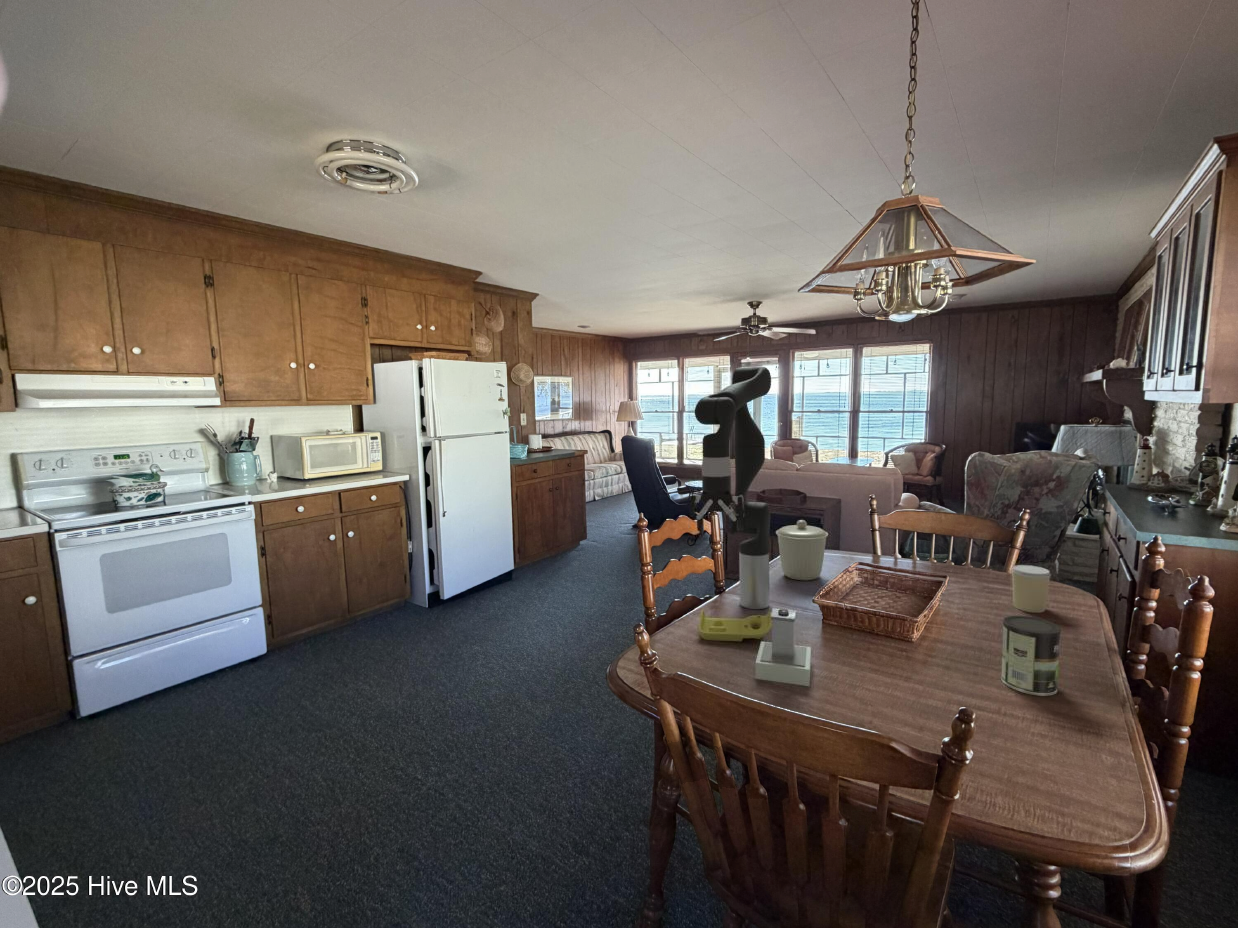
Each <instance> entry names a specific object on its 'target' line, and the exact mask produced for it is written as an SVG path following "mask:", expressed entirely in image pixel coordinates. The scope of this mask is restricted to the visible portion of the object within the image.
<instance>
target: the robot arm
mask: <svg viewBox="0 0 1238 928" xmlns="http://www.w3.org/2000/svg"><path fill="white" fill-rule="evenodd" d="M731 379H732V380H731V384H730V385H727V386H725V387H724V388H723V389H722V390H720V391H719V392H717V393H713V394H709V395H707V396H704V397H702V398H701V399H699V400H698V402H696V404H695V407H694V408H695V409H694V416H695V419H696V420H697V421H698V423H699V424H701V425H703V426H705V425H706V426H709V425H710V426H712V425H713V426H714V425H719V428H718V430H717V431H716V432H713V433H708V434H706V435H704V436H703V437H702V460H701V461H702V462H701V480H702V481H701V485H702V493H701V495H700V494H696V493H693V494H691V496H690V498H689V499H690V500H689V501H690V503H689V516H690V517H691V518H694V519H695V520H696V530H697V532H699V534H704V532H705V531H704V529H705V528H704V522H705V521H704V518H703V517H704V515H705V514H706V513H707V512H708V511H709V512H710V513H711V512H712V513H713V512H719V513H722V512H725V513H726V515H727V516H728V517H729V518H730V519H731V522H730V526H731V532H730V533H731V536H735V534H737V533H738V531H744V532H745V531H746V532H757V535H756V536H755V537H753V538H748V539H746V540H742V541H741V542H740V543H739V546H738V547H739V549H738V551H739V553H738V554H739V555H738V556H739V558H738V559H739V605H740V606H741V607H743V608H745V609H749V610H750V609H751V610H762V609H763V610H764V609H767V608H768V607H770V528H771V527H770V526H771V508H770V506H769V503H767V502H759V501H758V502H757V501H747V495H748V491H749V488H750V486H751V484H752V483H753V481H754V479H755V478H756V477H757V475H758V473H759V472H760V471H761V468H762V467H763V466H764V464H765V460H766V444H765V442H766V441H765V437H764V435H763V432H762V431H761V430H760V428H759V426H758V425H757V424H756V422H755V420H754V419H753V417H752V415H751V413H750V410H749V407H748V403H749V402H752V401H754V400H756V399H758V398H762V397H765V396H766V395H768V393H769V392H770V390H771V387H772V375H771V372H770V370H769V368H767V367H765V366H760V365H758V366H757V365H756V366H744V367H737V368H735V369H734V371H733V373H732V378H731ZM733 426H734V466H735V467H734V472H735V473H734V474H735V478H734V479H735V488H734V495H732V469H731V468H732V467H731V466H732V464H731V459H730V457H731V456H730V441H731V436H732V430H733ZM699 501H701V502H702V503H703V505H704V506H703V507H702V509H700V511H699V512H697V504H698V503H699ZM733 501H734V504H733V505H734V507H733V508H732V506H731V505H730V504H731V503H732V502H733Z"/></svg>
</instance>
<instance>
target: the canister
mask: <svg viewBox="0 0 1238 928" xmlns="http://www.w3.org/2000/svg"><path fill="white" fill-rule="evenodd" d="M775 534H776V535H777V540H778V547H779V548H778V549H779V558H780V564H781V571H782V572H783V574H784V576H785V577H787V578H790V579H792V580H796V581H813V580H816V579H818V578H819V577H820V576H821V573H822V571H823V566H824V565H823V563H824V558H825V550H826V541H827V537H828V536H829V533H828V532H827V531H825V530H824V529H822V528H821V527H817V526H813V525H808V522H806V520H804V519H799V520H797V522H796V524H794V525H786V526H782V527H781V528H779V529H777V530H776V531H775Z"/></svg>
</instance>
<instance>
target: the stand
mask: <svg viewBox="0 0 1238 928" xmlns="http://www.w3.org/2000/svg"><path fill="white" fill-rule="evenodd" d="M811 664H812V647H811V646H804V645H796V644H795V654H794V659H787V658H779V657H772V641H771V642H770V641H762V640H761V641H760V645H759V648H758V652H757V656H756V660H755V679H756V680H762V681H769V682H777V683H782V684H790V685H797V686H804V687H805V686H806V687H810V685H811V684H810V681H811Z"/></svg>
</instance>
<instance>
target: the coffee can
mask: <svg viewBox="0 0 1238 928" xmlns="http://www.w3.org/2000/svg"><path fill="white" fill-rule="evenodd" d="M1002 624H1003V631H1002V658H1001V677H1000V680H1001V682H1002V683H1003V684H1004V685H1006V686H1007V687H1009V688H1011V689H1013V690H1015V691H1017V692H1020V693H1023V694H1027V695H1032V696H1036V697H1037V696H1038V697H1050V696H1053V695H1056V694H1057V693H1058V680H1059V679H1058V676H1059V662H1060V661H1059V659H1060V658H1059V657H1060V642H1061V641H1060V639H1061V632H1062V629H1061V627H1060V626H1059V625H1058V624H1055V623H1054V622H1051V621H1049V620H1047V619H1043V618H1039V617H1034V616H1029V615H1028V616H1026V615H1010V616H1005V617H1004V618H1003V619H1002Z"/></svg>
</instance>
